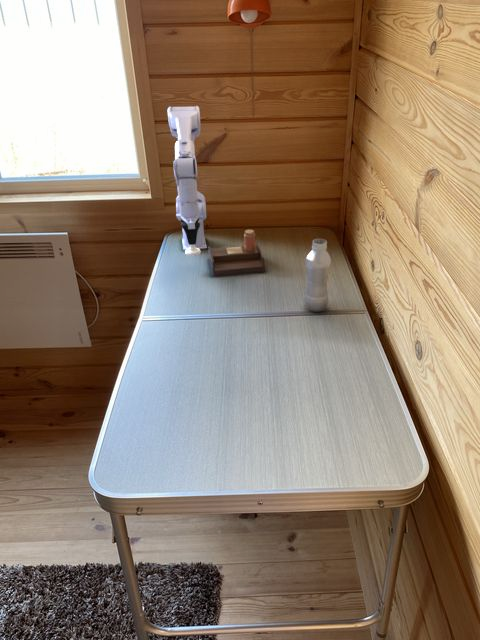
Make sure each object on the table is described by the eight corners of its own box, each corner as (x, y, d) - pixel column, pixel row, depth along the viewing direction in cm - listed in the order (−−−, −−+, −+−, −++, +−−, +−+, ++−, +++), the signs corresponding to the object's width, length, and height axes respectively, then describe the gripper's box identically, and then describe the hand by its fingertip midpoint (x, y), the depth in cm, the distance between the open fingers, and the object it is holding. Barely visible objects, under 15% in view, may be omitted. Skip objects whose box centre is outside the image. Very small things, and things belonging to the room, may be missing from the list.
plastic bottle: (326, 315, 141) (331, 247, 129) (302, 313, 142) (305, 245, 130) (328, 304, 146) (334, 237, 134) (305, 301, 147) (308, 235, 135)
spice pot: (243, 247, 168) (242, 229, 165) (254, 246, 169) (254, 228, 165) (245, 252, 165) (244, 233, 162) (256, 251, 166) (255, 233, 162)
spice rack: (209, 260, 170) (208, 246, 167) (257, 256, 172) (257, 242, 169) (213, 276, 160) (212, 261, 157) (264, 272, 162) (264, 257, 160)
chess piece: (202, 249, 165) (199, 219, 159) (199, 256, 161) (196, 225, 155) (186, 249, 165) (184, 219, 159) (183, 255, 161) (180, 225, 155)
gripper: (173, 192, 158) (178, 234, 166) (175, 209, 147) (180, 253, 155) (196, 191, 159) (199, 232, 167) (200, 207, 148) (203, 251, 156)
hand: (192, 242), depth 161 cm, fingers closed on chess piece
